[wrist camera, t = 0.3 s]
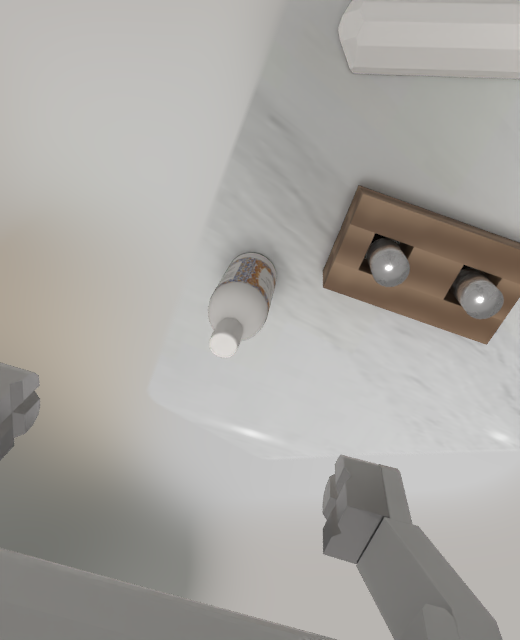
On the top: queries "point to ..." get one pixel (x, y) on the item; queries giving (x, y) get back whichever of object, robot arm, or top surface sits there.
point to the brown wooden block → (422, 263)
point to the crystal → (433, 37)
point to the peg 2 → (477, 294)
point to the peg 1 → (387, 262)
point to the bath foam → (240, 302)
